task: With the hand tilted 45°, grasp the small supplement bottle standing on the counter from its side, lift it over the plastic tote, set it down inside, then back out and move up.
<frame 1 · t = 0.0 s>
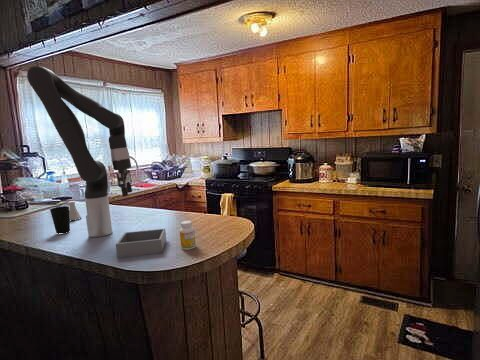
hand: (127, 194, 135), 17 cm above the countertop, tool pointing down, fingers open, 8 cm apart
supplement bottle: (188, 247, 112), on the countertop
flask: (74, 220, 167), on the countertop
tote: (143, 248, 113), on the countertop
cup: (63, 233, 142), on the countertop
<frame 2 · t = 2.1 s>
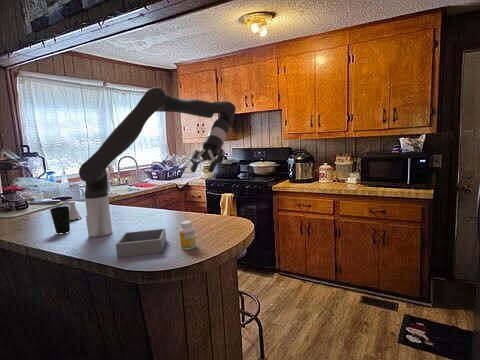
hand: (201, 171, 118), 27 cm above the countertop, tool tilted 45°, fingers open, 8 cm apart
nothing on the countertop moved.
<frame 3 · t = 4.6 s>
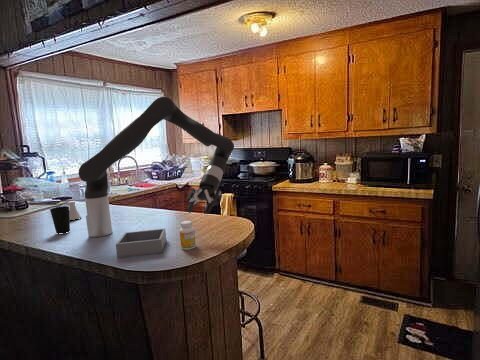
hand: (197, 212, 116), 11 cm above the countertop, tool tilted 45°, fingers open, 8 cm apart
nothing on the countertop moved.
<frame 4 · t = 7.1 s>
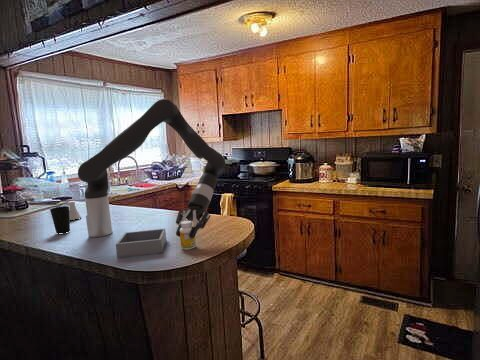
hand: (184, 236, 109), 5 cm above the countertop, tool tilted 45°, fingers closed on supplement bottle, 5 cm apart
supplement bottle: (188, 247, 112), on the countertop, touching gripper
everything else where it was.
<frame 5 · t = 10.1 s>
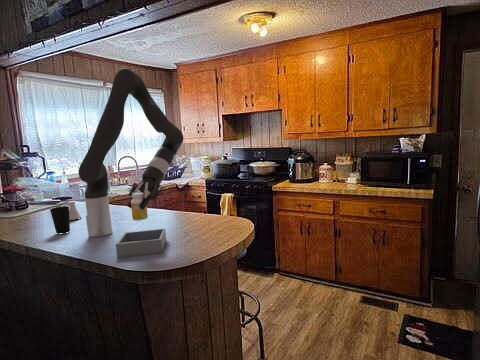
hand: (135, 207, 110), 16 cm above the countertop, tool tilted 45°, fingers closed on supplement bottle, 5 cm apart
supplement bottle: (140, 219, 112), point 11 cm above the countertop, touching gripper
everything else where it was.
when the fingers open (7 cm above the countertop, at t = 13.1 s): supplement bottle drops 1 cm, resting on tote.
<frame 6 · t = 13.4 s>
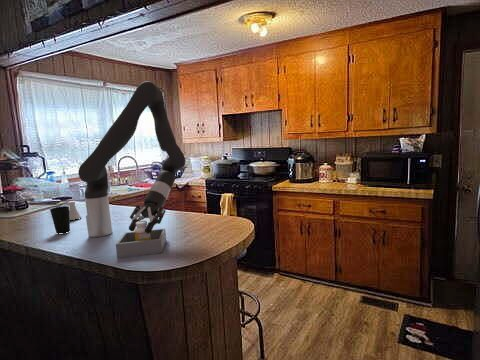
hand: (138, 231, 111), 7 cm above the countertop, tool tilted 45°, fingers open, 8 cm apart
supplement bottle: (143, 247, 113), resting on tote
everything else where it was.
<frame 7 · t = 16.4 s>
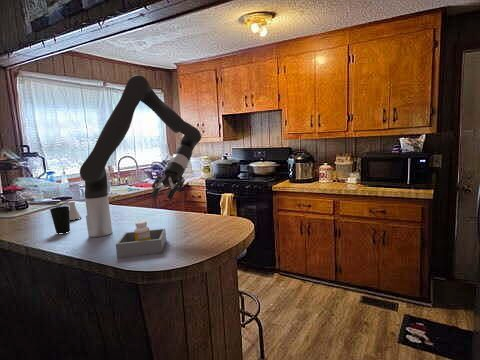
hand: (160, 198, 121), 17 cm above the countertop, tool tilted 45°, fingers open, 8 cm apart
nothing on the countertop moved.
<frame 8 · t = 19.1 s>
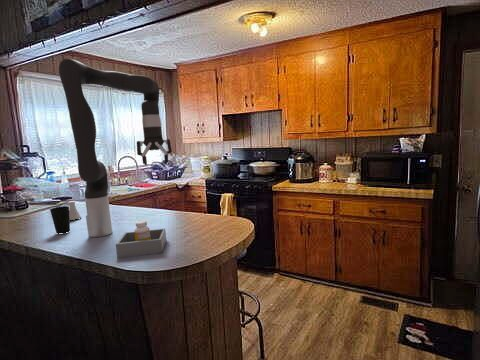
hand: (156, 164, 129), 30 cm above the countertop, tool pointing down, fingers open, 8 cm apart
nothing on the countertop moved.
at the end: supplement bottle inside the target area on the tote (0.2 cm from its centre), point 0.4 cm above the tote's base; the gripper is holding nothing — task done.
